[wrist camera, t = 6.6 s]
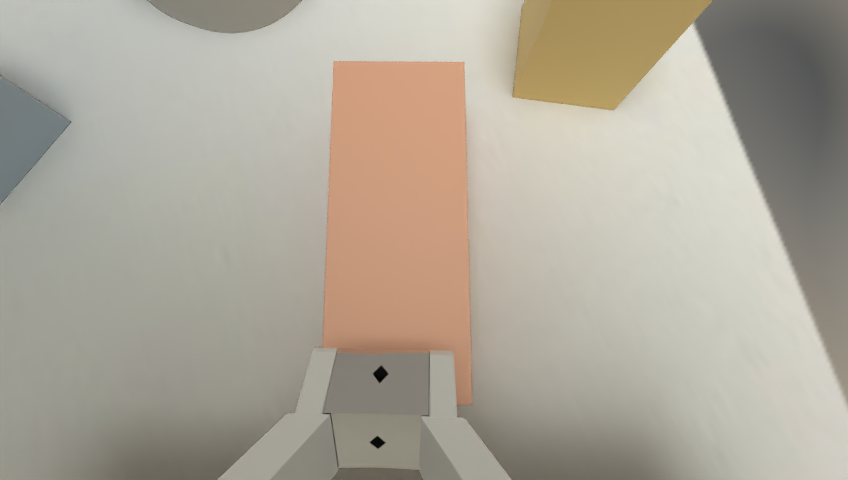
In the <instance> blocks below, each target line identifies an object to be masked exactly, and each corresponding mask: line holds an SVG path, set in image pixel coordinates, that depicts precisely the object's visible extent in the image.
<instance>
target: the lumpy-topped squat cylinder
mask: <svg viewBox="0 0 848 480" xmlns="http://www.w3.org/2000/svg"><path fill="white" fill-rule="evenodd" d="M147 1H148V2H150V3H151V4H152V5H154V6H155V7H156V8H158V9H159V10H160V11H162V12H163V13H165V14H167V15H169V16H170V17H172V18H175V19H177V20H179V21H182V22H184V23H187V24H189V25H192V26H195V27H198V28H202V29H205V30H210V31H215V32H221V33H242V32H248V31H253V30H256V29H260V28H263V27H265V26H268V25H270V24H272V23H274V22H276V21H278V20H279V19H281V18H282V17H284V16H285V15H287V14H288V13H289V12H290V11H291V10H293V9H294V8H295V7H296V6H297V5H298V4H299V3H300V2H301V1H302V0H147Z"/></svg>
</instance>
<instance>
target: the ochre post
mask: <svg viewBox="0 0 848 480" xmlns="http://www.w3.org/2000/svg"><path fill="white" fill-rule="evenodd" d="M712 1H713V0H524V3H523V6H522V11H521V21H520V30H519V40H518V50H517V59H516V69H515V79H514V88H513V97H515V98H522V99H530V100H538V101H545V102H553V103H561V104H569V105H576V106H584V107H592V108H600V109H607V110H614V109H615V108H616V107H617V106H618V105H619V104H620V102H621V101H622V100H623V99H624V98H625V97H626V96H627V95H628V94H629V93H630V91H631V90H632V89H633V88H634V87H635V86H636V85H637V84H638V83H639V81H640V80H641V79H642V78H643V77H644V76H645V75H646V74H647V73H648V71H649V70H650V69H651V68H652V67H653V66H654V65H655V64H656V63H657V62H658V60H659V59H660V58H661V57H662V56H663V55H664V54H665V53H666V52H667V50H668V49H669V48H670V47H671V46H672V45H673V44H674V43H675V42H676V40H677V39H678V38H679V37H680V36H681V35H682V34H683V33H684V32H685V30H686V29H687V28H688V27H689V26H690V25H691V24H692V23H693V22H694V21H695V19H696V18H697V17H698V16H699V15H700V14H701V13H702V12H703V11H704V9H705V8H706V7H707V6H708V5H709V4H710V3H711V2H712Z"/></svg>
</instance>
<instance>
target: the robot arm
mask: <svg viewBox="0 0 848 480" xmlns="http://www.w3.org/2000/svg"><path fill="white" fill-rule="evenodd" d="M338 468H395V469H414V470H419V472H420V474H421V476H422V478H423V480H512V479H511V478H510V477H509V475H508V474H507V473H506V471H505V470H504V469H503V468H502V466H501V465H500V464H499V462H498V461H497V460H496V458H495V457H494V456H493V454H492V453H491V452H490V450H489V449H488V448H487V446H486V445H485V444H484V442H483V441H482V440H481V439H480V437H479V436H478V435H477V433H476V432H475V431H474V429H473V428H472V427H471V425H470V424H469V423H468V421H467V420H466V419H465V418H462V417H457V401H456V385H455V369H454V354H453V352H452V351H436V350H430V351H429V350H386V349H384V350H372V349H352V348H326V347H315V348H314V350H313V352H312V353H311V357H310V360H309V364H308V367H307V371H306V374H305V378H304V381H303V385H302V388H301V392H300V395H299V399H298V402H297V406H296V409H295V413H287V414H286V415H285V416H284V417H283V418H282V419H281V420H279V421H278V422H277V423H276V424H275V425H274V426H273V427H272V428H271V429H270V430H269V431H268V432H267V433H266V434H265V435H264V436H263V437H262V438H261V439H259V440H258V441H257V442H256V443H255V444H254V445H253V446H252V447H251V448H250V449H249V450H248V451H247V452H246V453H245V454H244V455H243V456H242V457H241V458H239V459H238V460H237V461H236V462H235V463H234V464H233V465H232V466H231V467H230V468H229V469H228V470H227V471H226V472H225V473H224V474H223V475H222V476H221V477H219V478H218V479H217V480H332V479H333V477H334V476H335V474H336V473H337V472H338Z"/></svg>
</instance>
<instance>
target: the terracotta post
mask: <svg viewBox="0 0 848 480" xmlns="http://www.w3.org/2000/svg"><path fill="white" fill-rule="evenodd" d="M323 347H326V348H352V349H372V350H384V349H386V350H429V351H430V350H436V351H452V352H453V354H454V369H455V385H456V401H457V405H472V370H471V327H470V285H469V242H468V199H467V156H466V113H465V71H464V62H353V61H334V66H333V92H332V118H331V143H330V169H329V195H328V221H327V247H326V272H325V298H324V324H323Z"/></svg>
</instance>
